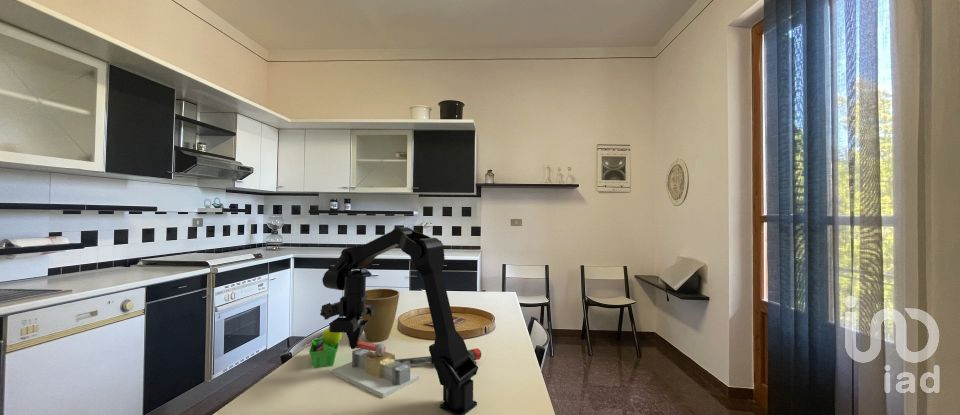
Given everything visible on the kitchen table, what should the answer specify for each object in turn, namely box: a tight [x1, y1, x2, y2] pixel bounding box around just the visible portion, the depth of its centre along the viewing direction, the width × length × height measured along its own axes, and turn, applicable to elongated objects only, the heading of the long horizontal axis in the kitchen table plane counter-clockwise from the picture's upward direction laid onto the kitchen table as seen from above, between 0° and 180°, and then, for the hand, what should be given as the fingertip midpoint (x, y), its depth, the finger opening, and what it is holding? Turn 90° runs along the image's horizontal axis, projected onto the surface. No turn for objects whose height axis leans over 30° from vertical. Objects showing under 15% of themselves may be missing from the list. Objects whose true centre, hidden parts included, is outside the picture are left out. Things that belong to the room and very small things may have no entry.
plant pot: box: [362, 288, 400, 343], centre depth 128 cm, size 15×15×16 cm
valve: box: [395, 347, 482, 365], centre depth 110 cm, size 6×26×15 cm
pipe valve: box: [351, 348, 411, 385], centre depth 99 cm, size 20×5×5 cm, turn 54°
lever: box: [348, 339, 386, 356], centre depth 101 cm, size 11×2×2 cm, turn 65°
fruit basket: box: [308, 327, 343, 369], centre depth 109 cm, size 11×9×11 cm
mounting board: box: [331, 361, 420, 399], centre depth 99 cm, size 22×12×1 cm, turn 54°
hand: (353, 348), depth 101 cm, fingers closed
